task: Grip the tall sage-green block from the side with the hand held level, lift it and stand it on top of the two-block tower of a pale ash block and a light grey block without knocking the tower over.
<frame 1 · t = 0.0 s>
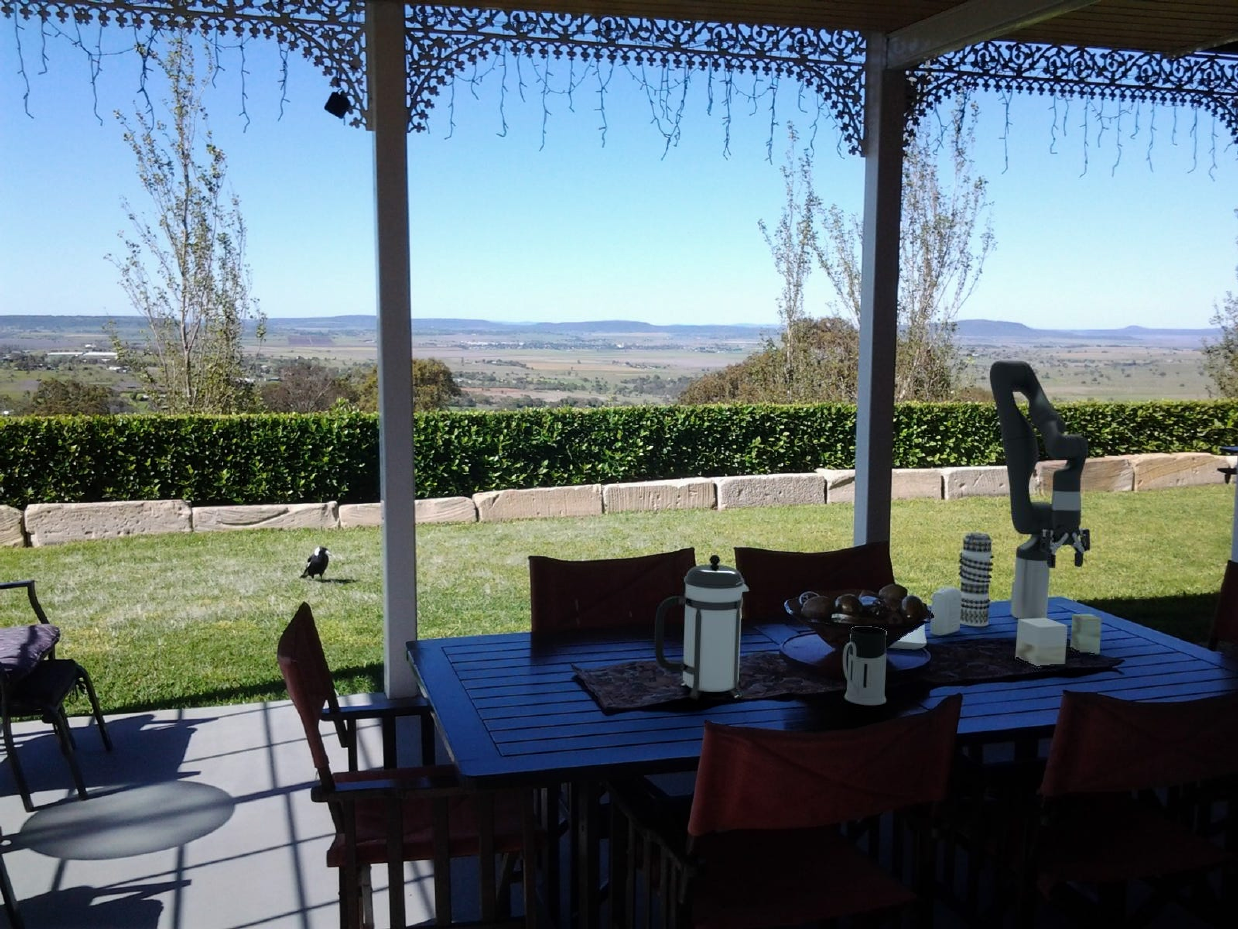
hand: (1064, 567, 299), 17 cm above the table, tool pointing down, fingers open, 8 cm apart
grey block: (1041, 642, 267), point 5 cm above the table, touching ash block
coffee press: (705, 692, 238), on the table
decorative candle: (972, 623, 306), on the table
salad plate: (882, 642, 285), on the table
sage block: (1084, 651, 278), on the table
glass holder: (858, 702, 234), on the table
ash block: (1039, 662, 268), on the table, touching grey block
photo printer: (944, 633, 294), on the table
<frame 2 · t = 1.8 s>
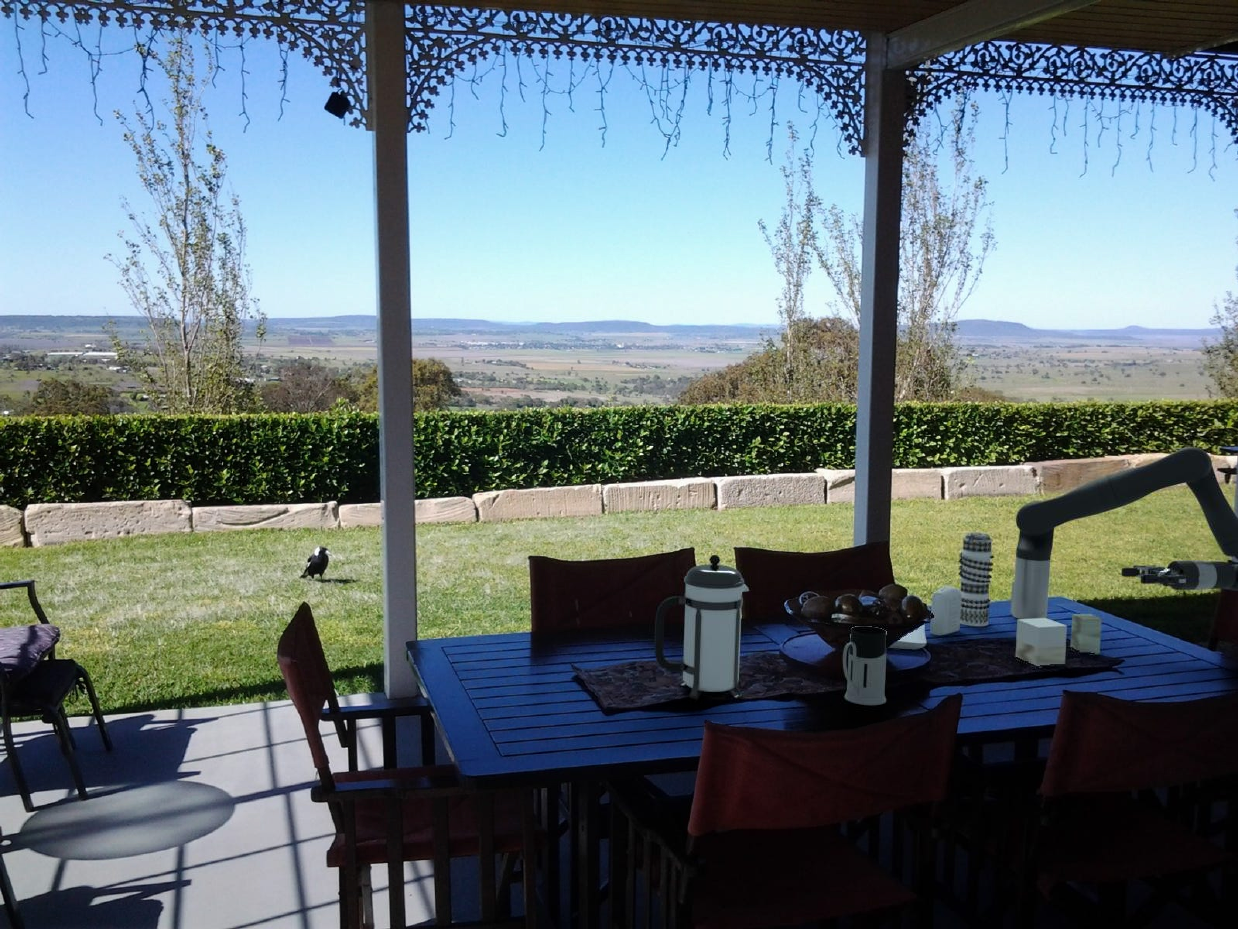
hand: (1131, 575, 278), 20 cm above the table, tool horizontal, fingers open, 8 cm apart
nothing on the table moved.
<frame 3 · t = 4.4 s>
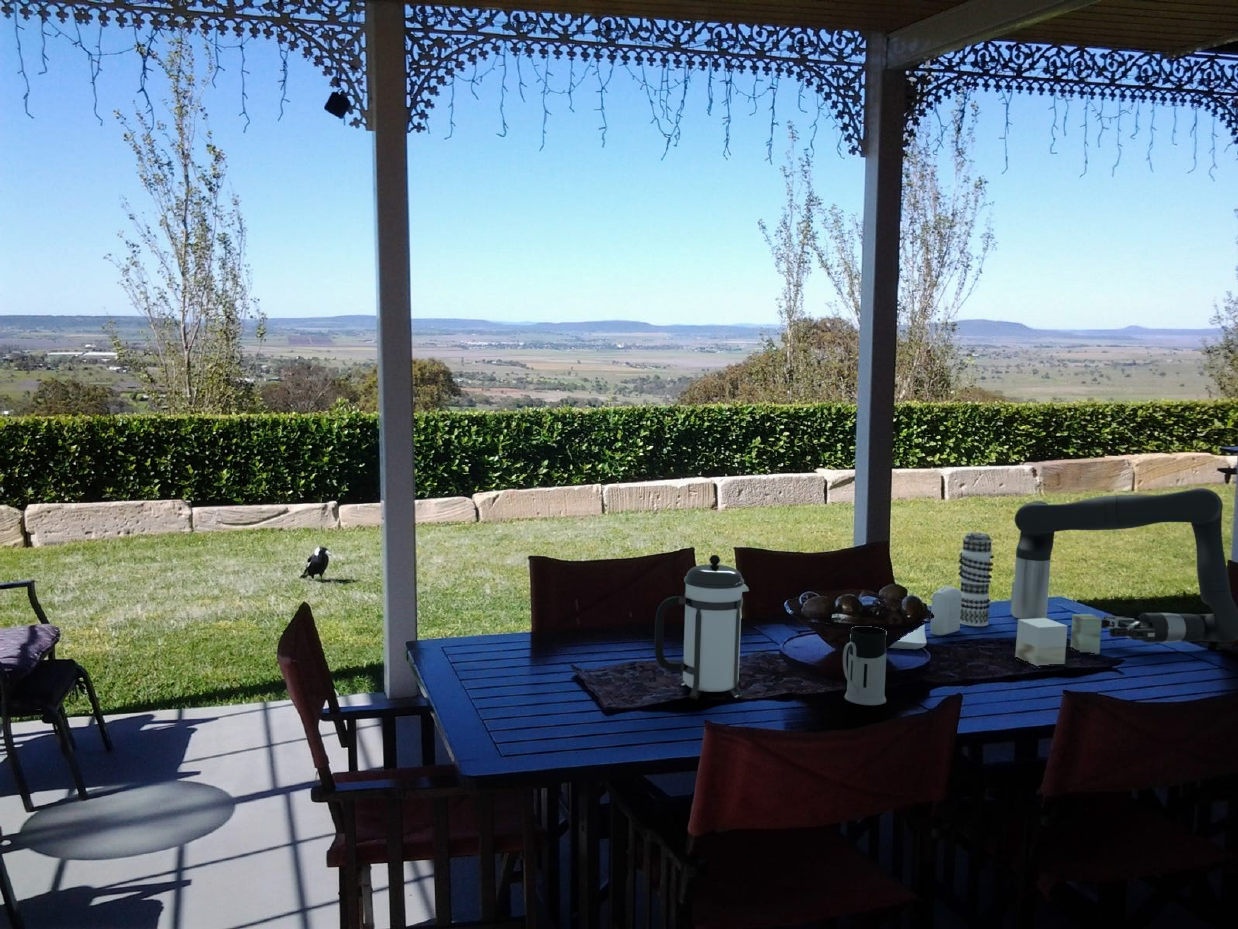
hand: (1101, 628, 278), 6 cm above the table, tool horizontal, fingers open, 8 cm apart
nothing on the table moved.
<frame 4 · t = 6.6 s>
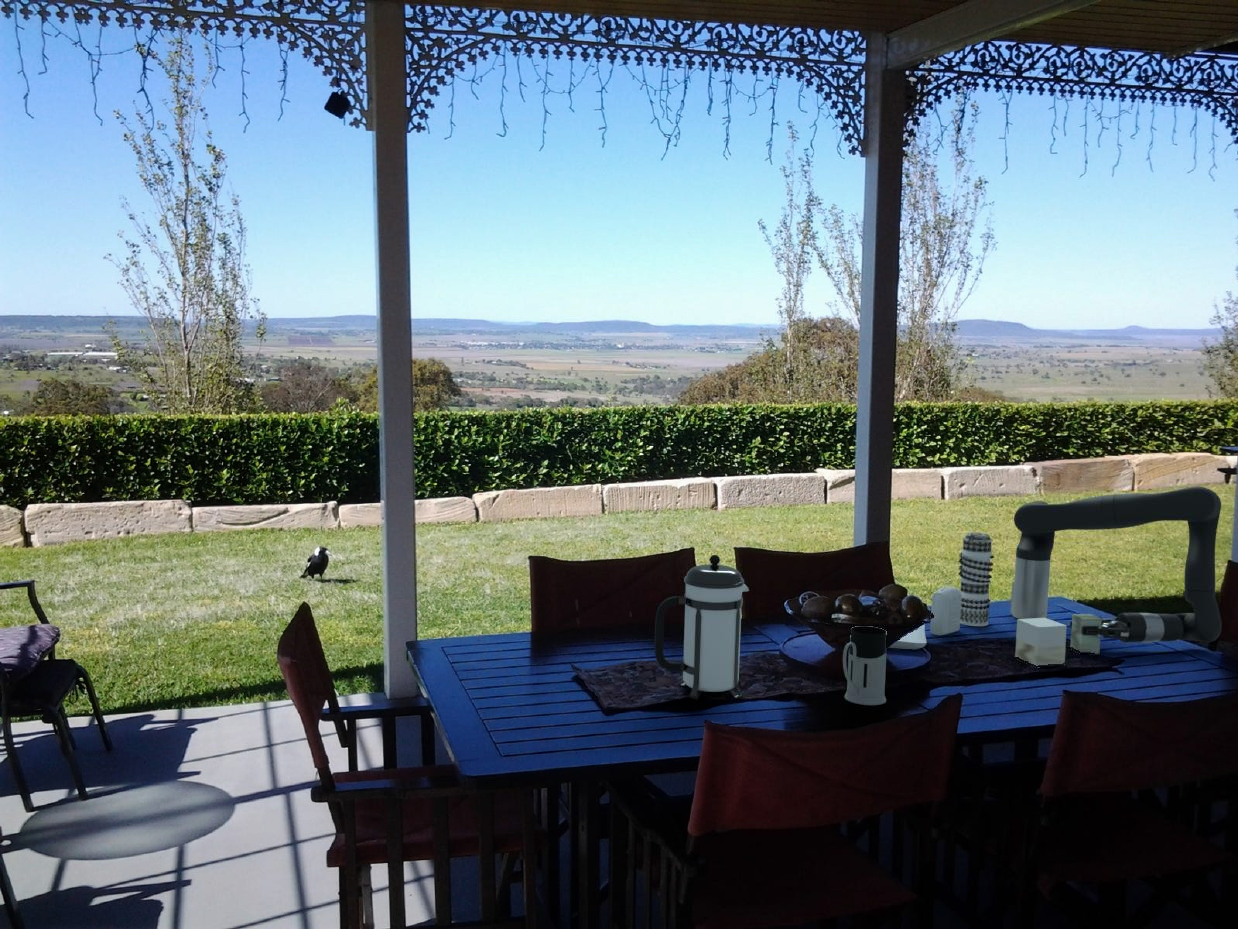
hand: (1076, 627, 278), 6 cm above the table, tool horizontal, fingers closed on sage block, 5 cm apart
sage block: (1084, 651, 278), on the table, touching gripper
everything else where it was.
when the fingers open (17 cm above the table, at t = 13.8 s): sage block moves 1 cm, resting on grey block.
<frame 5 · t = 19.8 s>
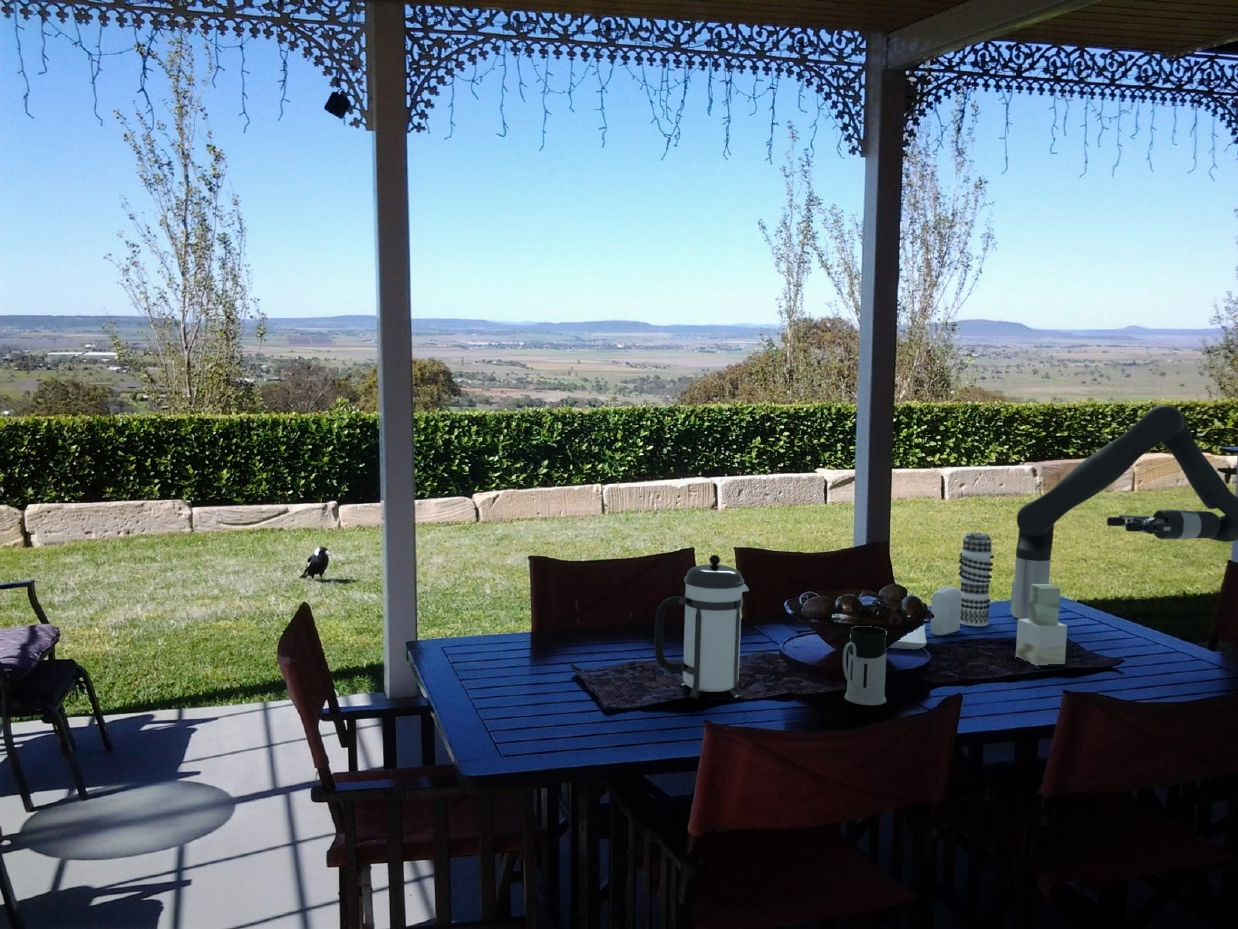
hand: (1116, 524, 280), 32 cm above the table, tool horizontal, fingers open, 8 cm apart
grey block: (1040, 642, 267), point 5 cm above the table, touching sage block
sage block: (1043, 622, 266), point 10 cm above the table, touching grey block
ash block: (1039, 662, 268), on the table
everything else where it was.
at the end: sage block 0.4 cm off-centre on the grey block, point 5.0 cm above the grey block's base; sage block tilted 0°; grey block 0.0 cm off-centre on the ash block, point 5.0 cm above the ash block's base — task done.
